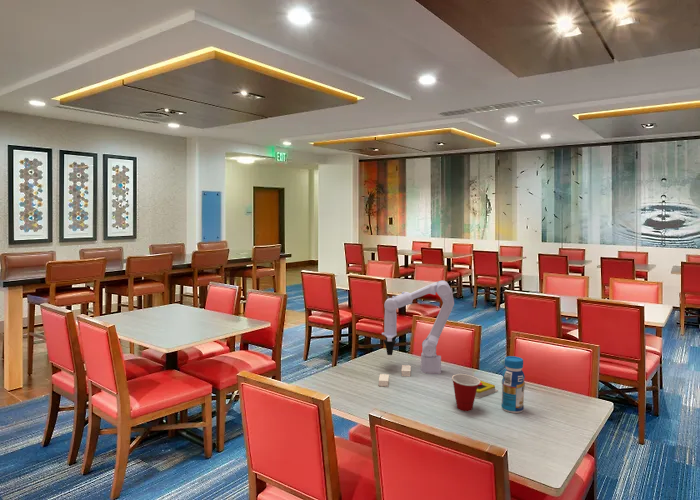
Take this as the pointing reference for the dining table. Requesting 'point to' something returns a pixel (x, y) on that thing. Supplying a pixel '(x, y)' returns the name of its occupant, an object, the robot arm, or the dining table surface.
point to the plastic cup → (465, 390)
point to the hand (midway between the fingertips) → (390, 352)
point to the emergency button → (484, 389)
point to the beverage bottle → (513, 385)
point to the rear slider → (406, 370)
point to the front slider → (384, 380)
